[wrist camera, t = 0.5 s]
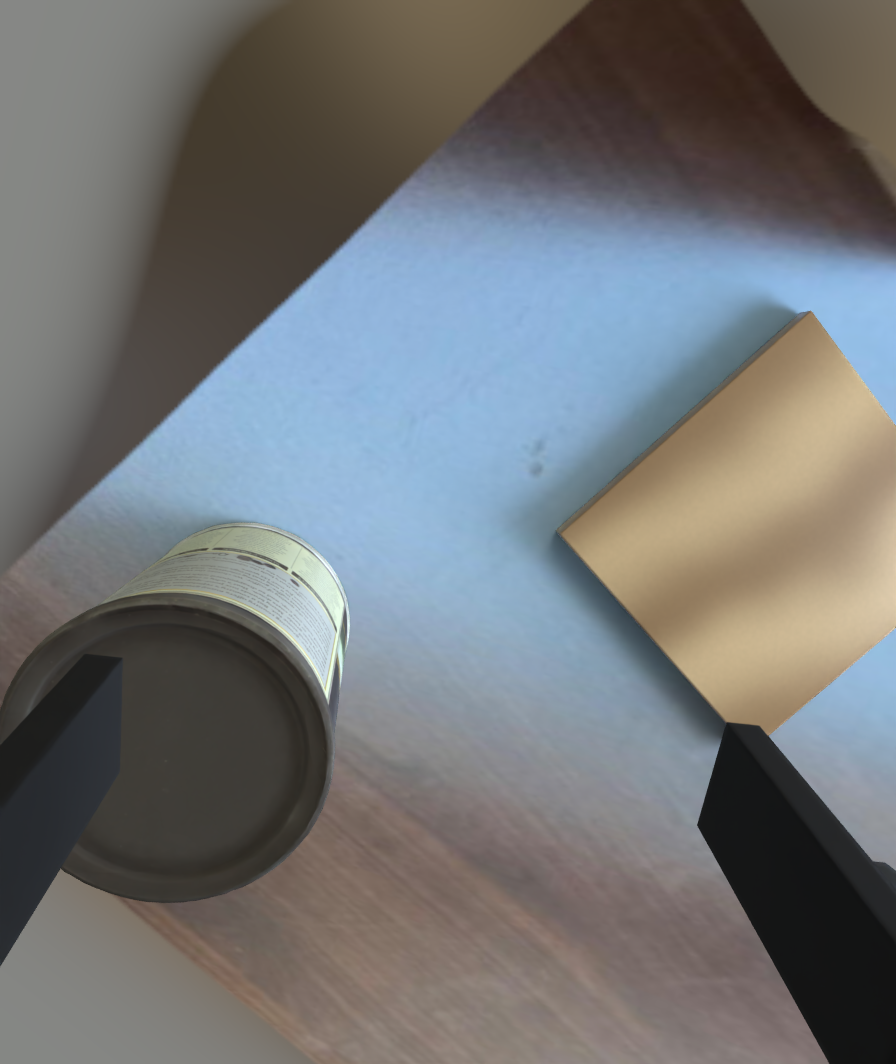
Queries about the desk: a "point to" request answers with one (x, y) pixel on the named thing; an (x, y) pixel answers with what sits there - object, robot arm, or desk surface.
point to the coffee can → (207, 712)
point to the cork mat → (758, 530)
